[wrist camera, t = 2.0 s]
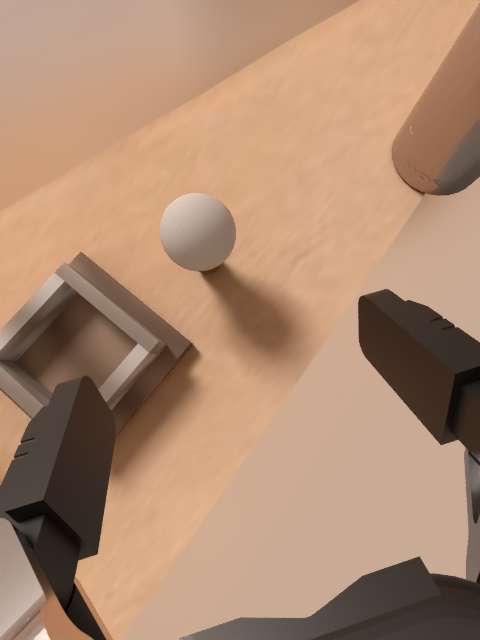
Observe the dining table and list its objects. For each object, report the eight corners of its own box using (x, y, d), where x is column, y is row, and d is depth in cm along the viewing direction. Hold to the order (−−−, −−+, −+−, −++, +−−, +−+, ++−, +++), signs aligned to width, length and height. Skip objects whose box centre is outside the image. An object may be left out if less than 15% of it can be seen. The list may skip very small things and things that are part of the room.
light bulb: (195, 303, 32) (174, 269, 22) (168, 253, 33) (135, 199, 23) (248, 274, 33) (250, 229, 23) (219, 226, 34) (209, 162, 24)
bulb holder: (86, 256, 33) (64, 238, 29) (192, 343, 31) (185, 338, 27) (-16, 365, 31) (-56, 363, 27) (91, 465, 30) (66, 478, 25)
